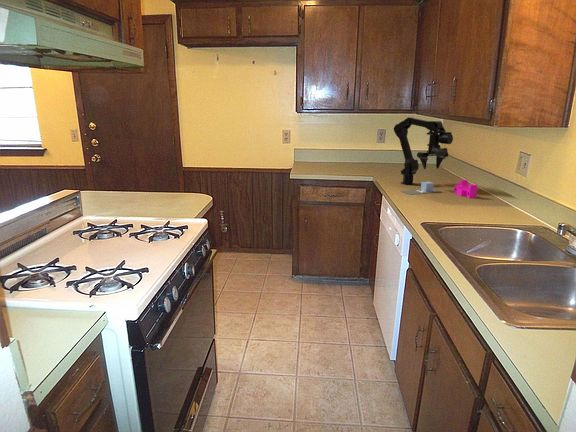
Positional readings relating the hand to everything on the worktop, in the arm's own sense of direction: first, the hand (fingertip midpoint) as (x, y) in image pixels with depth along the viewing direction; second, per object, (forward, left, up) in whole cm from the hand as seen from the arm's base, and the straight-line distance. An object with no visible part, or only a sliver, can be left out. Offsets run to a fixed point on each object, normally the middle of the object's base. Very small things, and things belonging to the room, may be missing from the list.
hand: (431, 168), depth 237 cm
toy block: (+21, +8, -12) cm, 26 cm away
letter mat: (+7, -11, -12) cm, 17 cm away
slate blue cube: (+7, -7, -12) cm, 15 cm away
